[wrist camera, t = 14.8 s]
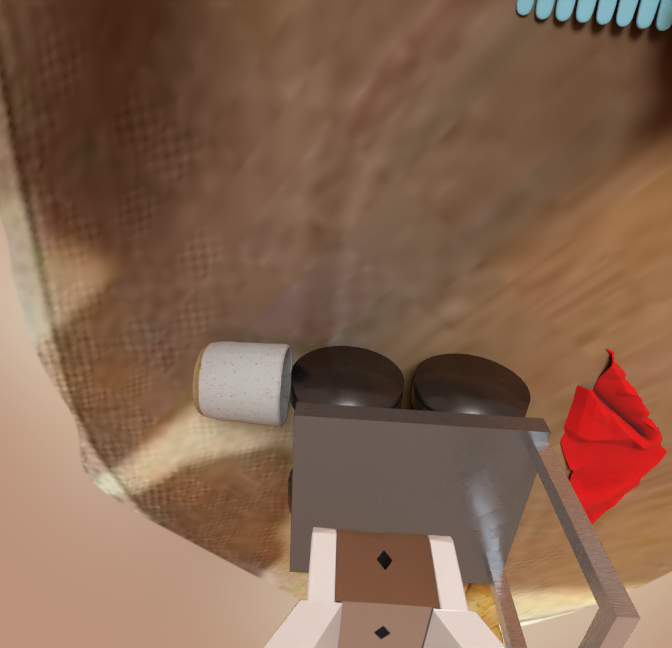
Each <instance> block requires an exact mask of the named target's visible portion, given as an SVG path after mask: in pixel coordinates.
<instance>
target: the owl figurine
mask: <svg viewBox="0 0 672 648" xmlns="http://www.w3.org/2000/svg"><path fill="white" fill-rule="evenodd" d="M575 1H576V0H557V4H556V10H555V16H556V18H557V19H558V20H559V21H566V20H567V19H568V18H569V17H570V16H571V14H572V11H573V8H574V5H575ZM596 1H597V0H578V3H577V8H576V19H577V21H578V22H580V23H585V22H587V21H588V20H589V19H590V18H591V16H592V14H593V11H594V8H595V5H596ZM638 1H639V0H619V4H618V8H617V14H616V23H617V25H618V26H620V27H625V26H627V25H628V24H629V23H630V22H631V20H632V18H633V15H634V13H635V10H636V7H637V4H638ZM659 1H660V4H659ZM554 2H555V0H537V2H536V8H535V14H536V17H537V18H538V19H540V20H544V19H546V18H548V17H549V15H550V14H551V11H552V9H553V5H554ZM533 3H534V0H517V3H516V10H517V13H518V14H519V15H522V16H525V15H527V14H529V13H530V11H531V9H532V7H533ZM616 3H617V0H599V2H598V6H597V12H596V21H597V23H598V24H600V25H605V24H607V23H608V22H609V21H610V20H611V18H612V16H613V13H614V10H615V7H616ZM658 4H659V8H658V12H657V17H656V28H657V29H658V30H659V31H665V30H667V29H668V28H669V27H670V26H671V24H672V0H640V4H639V8H638V12H637V17H636V25H637V27H638V28H639V29H646V28H647V27H649V26H650V25H651V23H652V21H653V19H654V16H655V13H656V10H657V7H658Z"/></svg>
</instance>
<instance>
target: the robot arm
mask: <svg viewBox="0 0 672 648" xmlns="http://www.w3.org/2000/svg"><path fill="white" fill-rule="evenodd" d="M264 648H506V647H505V646H504V645H503V644H502V642H501V641H500V640H499V639H498V638H497V636H496V635H495V634H494V633H493V632H492V630H491V629H490V628H489V627H488V626H487V624H486V623H485V622H484V621H483V620H482V618H481V617H480V616H479V615H478V614H477V612H475V611H469V610H468V606H467V601H466V597H465V592H464V587H463V583H462V578H461V574H460V569H459V564H458V560H457V555H456V551H455V546H454V542H453V540H452V538H451V537H450V536H437V535H426V534H412V533H392V532H381V533H377V532H367V531H356V530H345V529H337V530H336V529H334V528H321V527H313V532H312V540H311V553H310V565H309V577H308V589H307V600H299V601H298V603H297V604H296V605H295V607H294V608H293V609H292V611H291V612H290V613H289V615H288V616H287V617H286V619H285V620H284V621H283V622H282V624H281V625H280V627H279V628H278V629H277V631H276V632H275V633H274V634H273V636H272V637H271V639H270V640H269V641H268V642H267V644H266V645H265V646H264Z"/></svg>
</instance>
